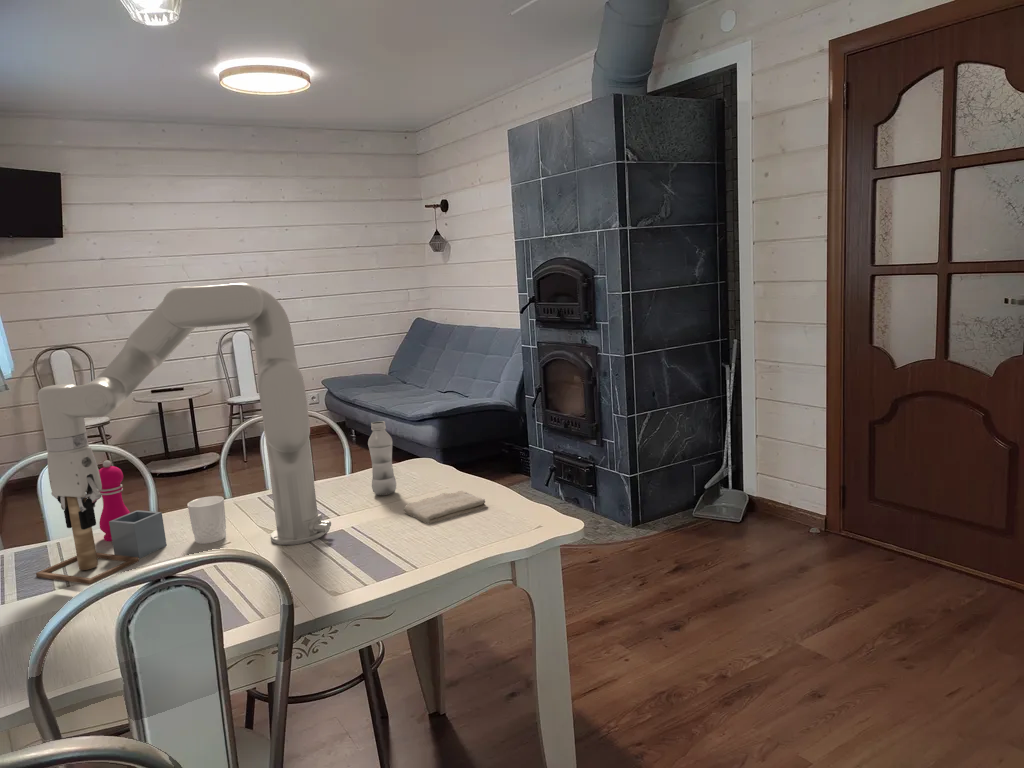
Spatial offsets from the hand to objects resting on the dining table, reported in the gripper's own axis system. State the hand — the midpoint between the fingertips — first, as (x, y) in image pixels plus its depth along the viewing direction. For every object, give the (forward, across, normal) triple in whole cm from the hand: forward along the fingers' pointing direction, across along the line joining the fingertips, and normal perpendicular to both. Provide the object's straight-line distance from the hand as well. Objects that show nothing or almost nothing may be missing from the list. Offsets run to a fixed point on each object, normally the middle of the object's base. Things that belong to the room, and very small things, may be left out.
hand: (81, 525), depth 158 cm
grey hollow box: (+11, -3, -11) cm, 16 cm away
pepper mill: (+11, +11, -17) cm, 23 cm away
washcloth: (+12, -60, -52) cm, 80 cm away
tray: (+11, 0, 0) cm, 11 cm away
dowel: (+9, 0, 0) cm, 9 cm away
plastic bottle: (+11, -37, -61) cm, 72 cm away
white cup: (+11, -14, -21) cm, 27 cm away
